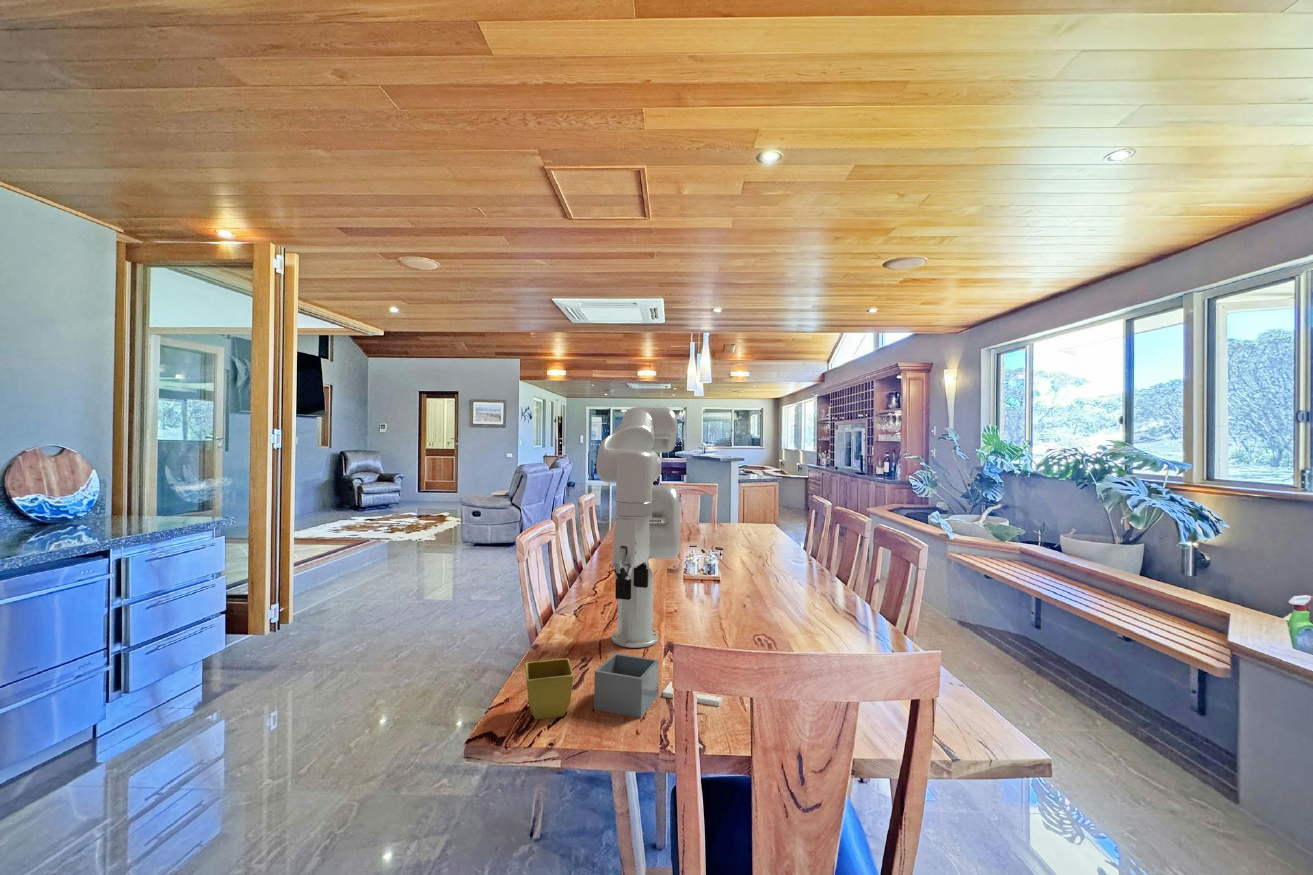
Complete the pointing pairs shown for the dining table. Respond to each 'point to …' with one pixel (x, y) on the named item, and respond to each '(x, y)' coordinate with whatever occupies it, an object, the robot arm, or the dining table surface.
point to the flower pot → (549, 687)
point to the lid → (700, 698)
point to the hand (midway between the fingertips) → (632, 592)
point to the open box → (626, 685)
